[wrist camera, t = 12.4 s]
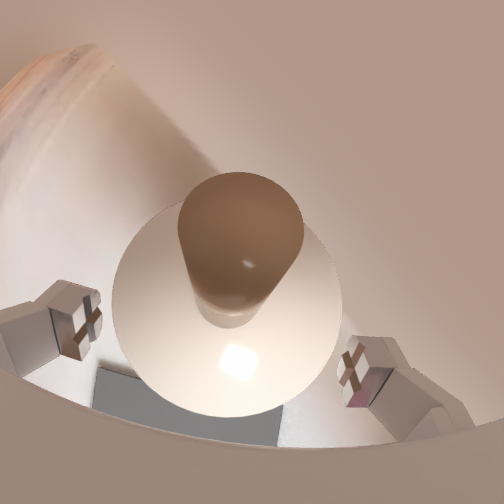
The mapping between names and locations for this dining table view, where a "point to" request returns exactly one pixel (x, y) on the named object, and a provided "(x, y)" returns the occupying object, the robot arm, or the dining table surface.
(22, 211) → the dining table surface
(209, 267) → the lid
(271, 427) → the slate mat
